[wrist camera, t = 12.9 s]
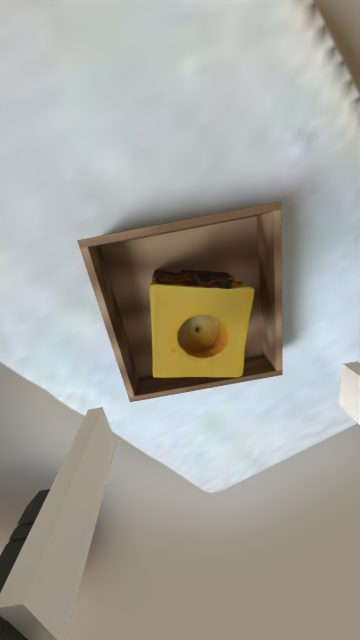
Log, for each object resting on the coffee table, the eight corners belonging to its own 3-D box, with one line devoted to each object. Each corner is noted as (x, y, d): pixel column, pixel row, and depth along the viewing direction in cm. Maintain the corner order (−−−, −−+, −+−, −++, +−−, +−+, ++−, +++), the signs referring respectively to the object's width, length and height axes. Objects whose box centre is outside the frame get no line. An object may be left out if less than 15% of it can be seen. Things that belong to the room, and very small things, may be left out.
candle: (153, 268, 28) (145, 281, 19) (228, 270, 28) (257, 283, 19) (154, 338, 31) (148, 379, 22) (221, 338, 32) (243, 378, 23)
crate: (94, 241, 27) (77, 240, 22) (259, 209, 27) (280, 201, 22) (136, 378, 35) (130, 402, 30) (265, 355, 34) (282, 374, 29)
